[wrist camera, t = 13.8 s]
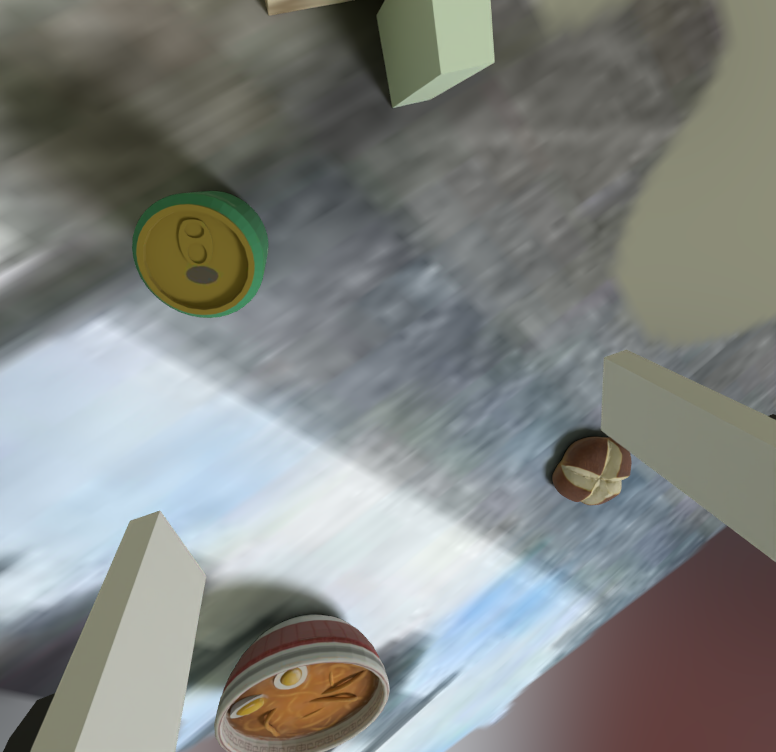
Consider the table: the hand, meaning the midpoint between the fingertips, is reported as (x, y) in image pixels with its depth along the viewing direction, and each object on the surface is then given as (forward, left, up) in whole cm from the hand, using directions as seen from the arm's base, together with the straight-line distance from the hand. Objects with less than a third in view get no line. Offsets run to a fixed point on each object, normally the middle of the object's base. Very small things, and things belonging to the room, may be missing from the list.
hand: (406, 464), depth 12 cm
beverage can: (-9, -2, -31) cm, 32 cm away
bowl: (+25, -51, -31) cm, 65 cm away
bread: (+48, -5, -31) cm, 58 cm away
